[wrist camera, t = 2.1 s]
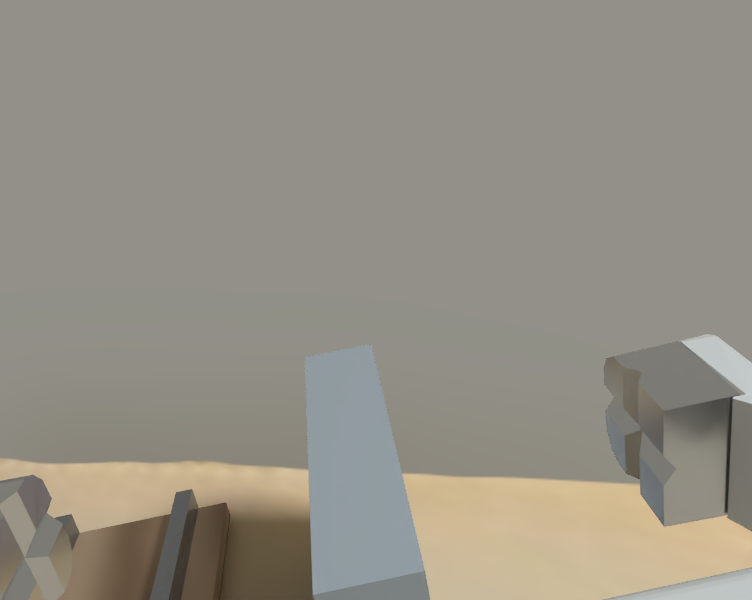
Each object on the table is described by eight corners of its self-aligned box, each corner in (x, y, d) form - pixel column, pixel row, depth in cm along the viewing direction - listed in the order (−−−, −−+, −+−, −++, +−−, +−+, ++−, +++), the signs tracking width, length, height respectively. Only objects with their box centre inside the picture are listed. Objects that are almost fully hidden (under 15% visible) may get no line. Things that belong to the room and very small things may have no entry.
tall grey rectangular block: (377, 832, 26) (312, 595, 21) (347, 536, 41) (304, 357, 36) (469, 811, 26) (424, 570, 21) (405, 523, 41) (370, 343, 36)
